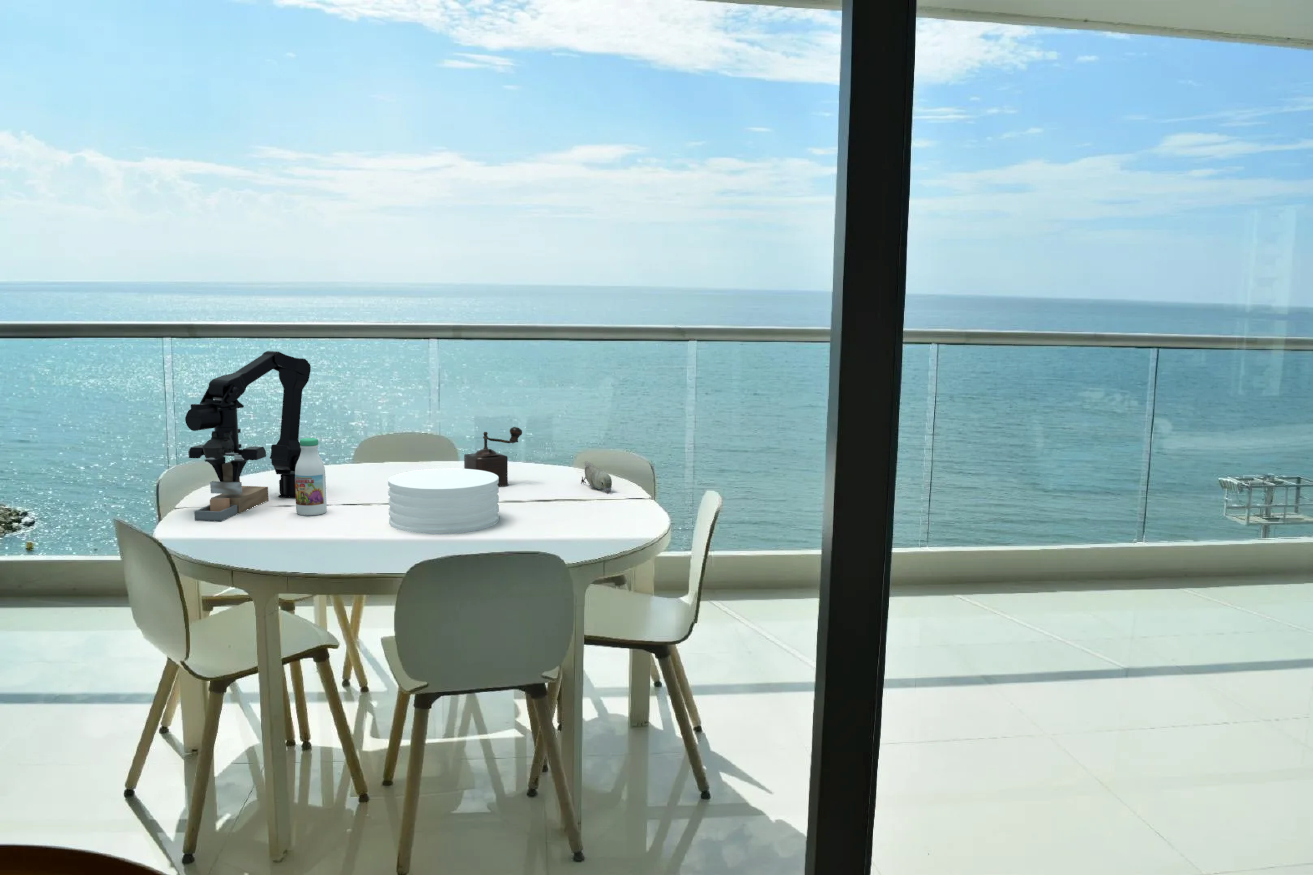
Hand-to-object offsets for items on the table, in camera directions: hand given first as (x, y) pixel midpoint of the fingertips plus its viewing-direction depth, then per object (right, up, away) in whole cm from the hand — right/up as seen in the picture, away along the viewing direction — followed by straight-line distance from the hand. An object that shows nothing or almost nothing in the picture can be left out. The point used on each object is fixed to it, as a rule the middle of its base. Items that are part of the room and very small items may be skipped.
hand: (228, 484), depth 264 cm
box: (-1, -8, -6) cm, 10 cm away
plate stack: (+58, -10, -5) cm, 59 cm away
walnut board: (0, -6, +7) cm, 9 cm away
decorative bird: (+96, -4, +39) cm, 103 cm away
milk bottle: (+22, -8, +1) cm, 23 cm away
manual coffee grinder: (+63, -2, +43) cm, 77 cm away
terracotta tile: (0, -5, -3) cm, 6 cm away
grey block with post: (0, -2, +1) cm, 2 cm away
